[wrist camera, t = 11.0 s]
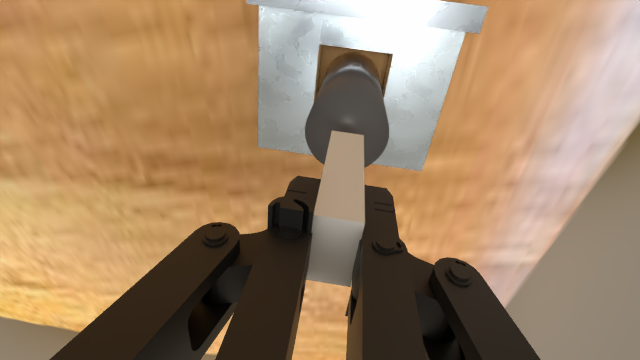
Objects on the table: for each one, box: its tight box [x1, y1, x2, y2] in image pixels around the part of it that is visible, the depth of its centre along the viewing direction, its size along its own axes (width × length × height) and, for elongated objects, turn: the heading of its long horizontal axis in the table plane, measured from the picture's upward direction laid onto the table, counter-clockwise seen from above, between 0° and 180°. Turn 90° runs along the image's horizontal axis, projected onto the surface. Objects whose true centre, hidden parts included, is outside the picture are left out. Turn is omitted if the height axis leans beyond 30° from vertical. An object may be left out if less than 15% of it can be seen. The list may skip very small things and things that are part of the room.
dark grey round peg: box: [305, 52, 389, 167], centre depth 23 cm, size 5×5×13 cm
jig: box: [247, 0, 488, 171], centre depth 27 cm, size 16×14×6 cm
